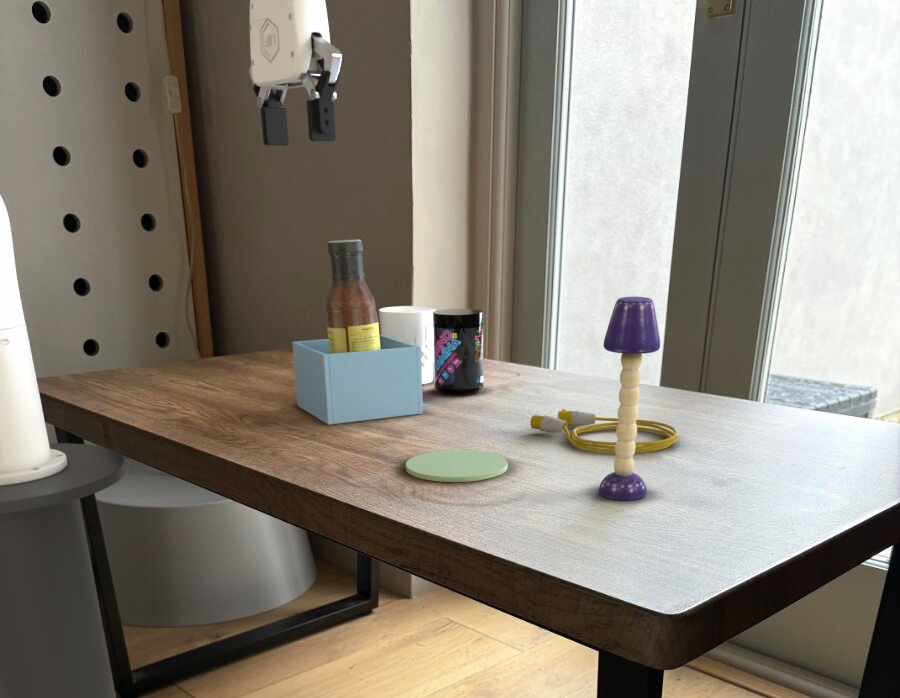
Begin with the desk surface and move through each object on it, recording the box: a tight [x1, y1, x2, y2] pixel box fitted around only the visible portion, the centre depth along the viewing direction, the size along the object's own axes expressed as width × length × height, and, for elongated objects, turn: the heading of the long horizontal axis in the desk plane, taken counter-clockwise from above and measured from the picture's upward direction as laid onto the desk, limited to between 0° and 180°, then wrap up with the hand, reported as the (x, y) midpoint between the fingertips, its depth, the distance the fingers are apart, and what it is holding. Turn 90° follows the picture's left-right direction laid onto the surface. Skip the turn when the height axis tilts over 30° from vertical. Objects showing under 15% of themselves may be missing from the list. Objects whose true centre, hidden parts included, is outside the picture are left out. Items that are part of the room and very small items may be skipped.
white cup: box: [378, 305, 436, 385], centre depth 131 cm, size 8×8×10 cm
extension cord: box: [530, 409, 679, 454], centre depth 101 cm, size 12×16×2 cm
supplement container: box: [433, 308, 485, 397], centre depth 124 cm, size 7×7×10 cm
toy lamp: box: [598, 296, 661, 501], centre depth 79 cm, size 5×5×17 cm
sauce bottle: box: [325, 239, 380, 354], centre depth 112 cm, size 7×6×20 cm
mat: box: [405, 449, 509, 483], centre depth 91 cm, size 10×10×1 cm
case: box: [292, 334, 424, 426], centre depth 115 cm, size 12×12×8 cm
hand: (298, 143), depth 107 cm, fingers open, 9 cm apart
